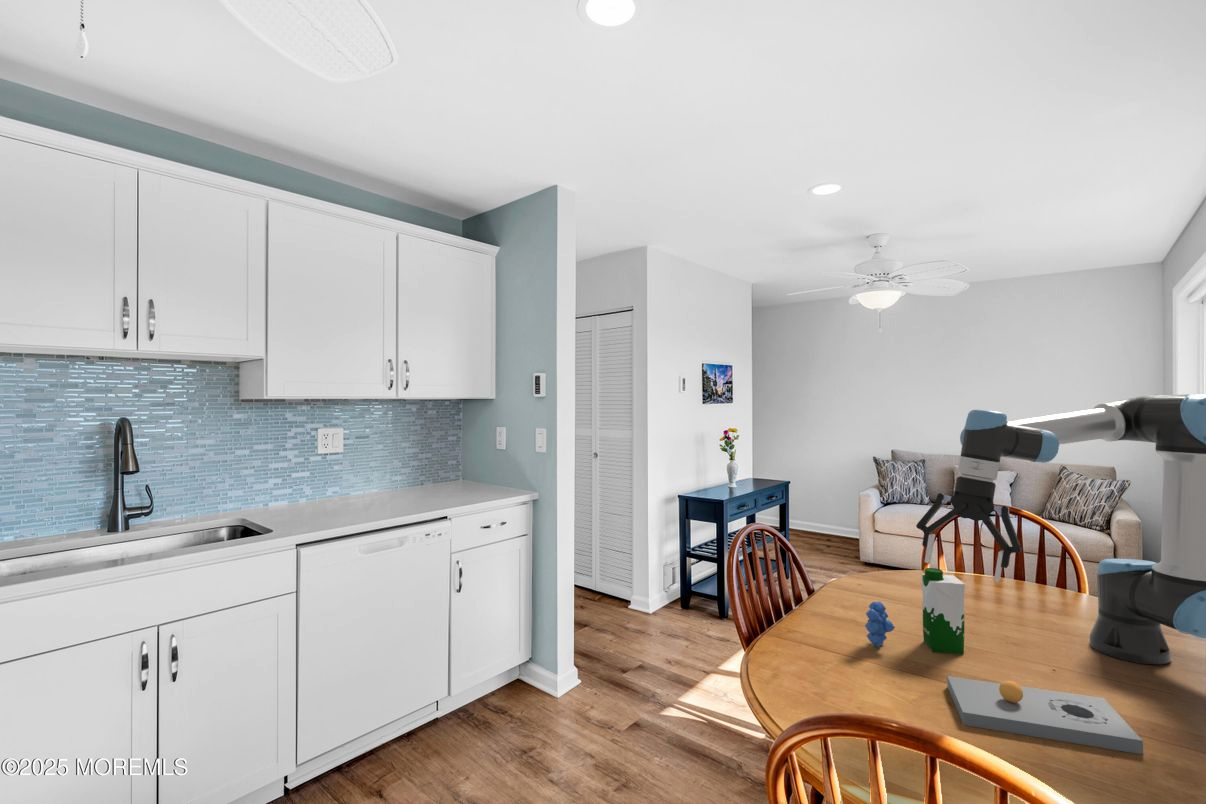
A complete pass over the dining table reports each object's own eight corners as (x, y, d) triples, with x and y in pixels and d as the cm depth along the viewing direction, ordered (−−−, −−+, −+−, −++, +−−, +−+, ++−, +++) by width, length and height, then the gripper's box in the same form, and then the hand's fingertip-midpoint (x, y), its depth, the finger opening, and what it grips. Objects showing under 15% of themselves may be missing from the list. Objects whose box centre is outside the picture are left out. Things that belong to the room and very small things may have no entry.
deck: (1103, 710, 119) (1103, 697, 119) (1143, 754, 105) (1142, 740, 105) (947, 687, 130) (947, 676, 130) (963, 724, 115) (963, 712, 115)
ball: (1019, 698, 120) (1019, 678, 120) (1026, 708, 116) (1025, 687, 116) (996, 695, 121) (996, 675, 121) (1002, 704, 117) (1002, 684, 117)
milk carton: (918, 639, 155) (918, 564, 155) (956, 642, 153) (955, 566, 153) (930, 653, 147) (929, 574, 146) (970, 656, 145) (969, 576, 145)
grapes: (888, 658, 144) (888, 610, 144) (860, 651, 149) (859, 604, 148) (901, 643, 153) (901, 598, 153) (874, 636, 157) (873, 592, 157)
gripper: (911, 467, 137) (896, 556, 137) (1043, 490, 120) (1026, 592, 120) (919, 468, 142) (905, 553, 142) (1046, 490, 126) (1030, 587, 125)
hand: (960, 571), depth 131 cm, fingers open, 13 cm apart
